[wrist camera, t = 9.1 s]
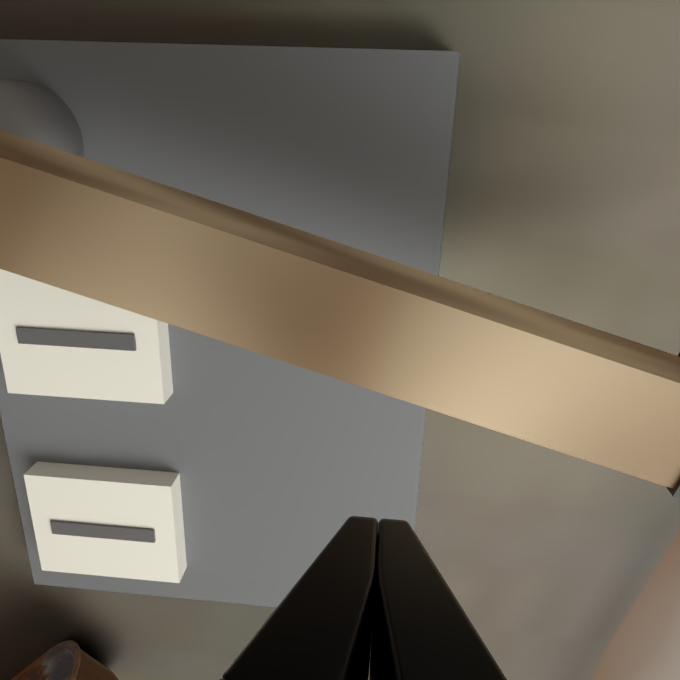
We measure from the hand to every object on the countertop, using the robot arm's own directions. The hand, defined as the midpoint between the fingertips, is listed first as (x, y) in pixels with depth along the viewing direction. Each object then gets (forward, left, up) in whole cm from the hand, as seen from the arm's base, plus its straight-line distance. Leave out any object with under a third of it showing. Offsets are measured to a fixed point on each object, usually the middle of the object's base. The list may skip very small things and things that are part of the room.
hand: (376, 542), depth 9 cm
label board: (-6, -2, -11) cm, 12 cm away
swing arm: (-2, +3, -5) cm, 6 cm away
